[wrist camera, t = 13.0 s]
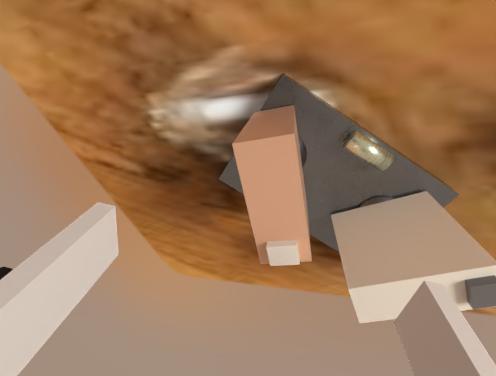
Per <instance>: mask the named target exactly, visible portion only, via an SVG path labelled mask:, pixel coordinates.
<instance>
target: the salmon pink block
mask: <svg viewBox="0 0 496 376" xmlns="http://www.w3.org/2000/svg"><path fill="white" fill-rule="evenodd" d="M232 146H233V150H234V155H235V159H236V163H237V167H238V171H239V175H240V180H241V184H242V188H243V192H244V196H245V201H246V205H247V209H248V213H249V217H250V221H251V226H252V230H253V234H254V238H255V242H256V247H257V251H258V255H259V259H260V263H261V264H270V266H280V265H299V264H300V262H306V261H312V257H311V246H310V235H309V224H308V213H307V201H306V192H305V184H304V176H303V169H302V161H301V154H300V146H299V138H298V131H297V123H296V116H295V108H294V105H290V106H285V107H280V108H275V109H269V110H264V111H259V112H254V114H253V115H252V117H251V118H250V119H249V121H248V122H247V124H246V125H245V126H244V128H243V129H242V130H241V132H240V133H239V135H238V136H237V137H236V139H235V140H234V142H233V143H232Z"/></svg>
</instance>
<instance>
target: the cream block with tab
mask: <svg viewBox="0 0 496 376" xmlns="http://www.w3.org/2000/svg"><path fill="white" fill-rule="evenodd" d="M331 218H332V223H333V227H334V231H335V235H336V240H337V244H338V248H339V252H340V257H341V261H342V265H343V269H344V273H345V278H346V282H347V286H348V290H349V293H350V296H351V299H352V301H353V305H354V308H355V310H356V314H357V317H358V319H359V323H366V322H373V321H382V320H390V319H396V318H397V317H398V316H399V314H400V313H401V311H402V310H403V309H404V307H405V306H406V305H407V303H408V302H409V300H410V299H411V298H412V296H413V295H414V294H415V292H416V291H417V289H418V288H419V287H420V285H421V284H422V283H423V281H424V280H425V281H429V282H433V283H438V284H442V285H443V286H444V287H445V289H446V290H447V292H448V293H449V295H450V296H451V298H452V299H453V301H454V302H455V304H456V305H457V307H458V308H459V310H460V311H463V310H471V309H479V308H487V307H496V260H495V259H494V258H493V257H492V256H491V255H490V254H489V253H488V252H487V251H486V250H485V249H484V248H483V247H482V246H481V245H480V244H479V243H478V242H477V241H476V240H475V239H474V238H473V237H472V236H471V235H470V234H469V233H468V232H467V231H466V230H465V229H464V228H463V227H462V226H461V225H460V224H459V223H458V222H457V221H456V220H455V219H454V218H453V217H452V216H451V215H450V214H449V213H448V212H447V211H446V210H445V209H444V208H443V207H442V206H441V205H440V204H439V203H438V202H437V201H436V200H435V199H434V198H433V197H432V196H431V195H430V194H429V193H428V192H427V191H425V192H421V193H417V194H413V195H409V196H405V197H401V198H397V199H393V200H389V201H385V202H381V203H376V204H372V205H368V206H364V207H360V208H356V209H352V210H348V211H344V212H340V213H336V214H332V215H331Z"/></svg>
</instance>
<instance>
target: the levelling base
mask: <svg viewBox="0 0 496 376" xmlns="http://www.w3.org/2000/svg"><path fill="white" fill-rule="evenodd" d="M290 105H294V108H295V116H296V123H297V131H298V138H299V146H300V154H301V161H302V169H303V176H304V184H305V192H306V201H307V213H308V224H309V234H310V235H311V236H313V237H315V238H316V239H318V240H319V241H321V242H323V243H324V244H326V245H328V246H329V247H331V248H333V249H334V250H336V251H338V252H339V248H338V244H337V240H336V235H335V231H334V227H333V223H332V218H331V215H332V214H336V213H340V212H344V211H348V210H352V209H356V208H360V207H364V206H368V205H372V204H376V203H381V202H385V201H389V200H393V199H397V198H401V197H405V196H409V195H413V194H417V193H421V192H425V191H427V192H428V193H429V194H430V195H431V196H432V197H433V198H434V199H435V200H436V201H437V202H438V203H439V204H440V205H441V206H442V207H443V208H444V207H445V206H446V205H447V204H448V203H450V202H451V201H452V200H453V199H454V198H456V197H457V196H458V195H459V194H458V193H456V192H455V191H454V190H453V189H452V188H450V187H449V186H448V185H447V184H446V183H444V182H443V181H441V180H440V179H438V178H437V177H435V176H434V175H432V174H431V173H429V172H428V171H426V170H425V169H423V168H422V167H421V166H419V165H418V164H416V163H415V162H413V161H412V160H410V159H409V158H407V157H406V156H404V155H403V154H401V153H400V152H398V151H397V150H396V149H394V148H393V147H391V146H390V145H388V144H387V143H385V142H384V141H382V140H381V139H379V138H378V137H376V136H375V135H373V134H372V133H371V132H369V131H368V130H366V129H365V128H363V127H362V126H360V125H359V124H357V123H356V122H354V121H353V120H351V119H350V118H349V117H347V116H346V115H344V114H343V113H341V112H340V111H338V110H337V109H335V108H334V107H332V106H331V105H329V104H328V103H326V102H325V101H324V100H322V99H321V98H319V97H318V96H316V95H315V94H313V93H312V92H310V91H309V90H307V89H306V88H304V87H303V86H301V85H300V84H299V83H297V82H296V81H294V80H293V79H291V78H290V77H288V76H287V75H285V74H284V73H283V75H282V76H281V78H280V79H279V81H278V83H277V84H276V86H275V88H274V89H273V91H272V93H271V94H270V96H269V97H268V99H267V101H266V102H265V104H264V106H263V107H262V109H261V111H264V110H269V109H275V108H280V107H285V106H290ZM219 180H221V181H222V182H224V183H226V184H227V185H229V186H231V187H232V188H234V189H236V190H237V191H239V192H240V193H242V194H244V192H243V188H242V184H241V180H240V175H239V171H238V167H237V163H236V159H235V155H233V156H232V158H231V160H230V161H229V163H228V165H227V166H226V168H225V170H224V171H223V173H222V174H221V176H220V178H219ZM339 253H340V252H339Z"/></svg>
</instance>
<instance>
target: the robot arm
mask: <svg viewBox="0 0 496 376" xmlns="http://www.w3.org/2000/svg"><path fill="white" fill-rule="evenodd" d="M118 254H119V252H118V237H117V223H116V207H115V206H113V205H109V204H104V203H100V202H98V203H96V204H95V205H94V206H93V207H91V208H90V209H89V210H87V211H86V212H85V213H84V214H82V215H81V216H80V217H79V218H77V219H76V220H75V221H74V222H73V223H71V224H70V225H69V226H67V227H66V228H65V229H64V230H62V231H61V232H60V233H59V234H57V235H56V236H55V237H54V238H52V239H51V240H50V241H49V242H47V243H46V244H45V245H43V246H42V247H41V248H40V249H38V250H37V251H36V252H35V253H33V254H32V255H31V256H30V257H28V258H27V259H26V260H25V261H23V262H22V263H21V264H20V265H19V266H17V267H16V268H15V269H11V268H7V267H2V268H0V376H17V375H18V374H19V373H20V372H21V371H22V369H23V368H24V367H25V366H26V365H27V363H28V362H29V361H30V360H31V359H32V357H33V356H34V355H35V354H36V353H37V351H38V350H39V349H40V348H41V347H42V345H43V344H44V343H45V342H46V341H47V340H48V338H49V337H50V336H51V335H52V333H53V332H54V331H55V330H56V329H57V328H58V326H59V325H60V324H61V323H62V321H63V320H64V319H65V318H66V317H67V315H68V314H69V313H70V312H71V311H72V310H73V308H74V307H75V306H76V305H77V304H78V302H79V301H80V300H81V299H82V298H83V296H84V295H85V294H86V293H87V291H88V290H89V289H90V288H91V287H92V285H93V284H94V283H95V282H96V281H97V280H98V278H99V277H100V276H101V275H102V274H103V272H104V271H105V270H106V269H107V268H108V266H109V265H110V264H111V263H112V262H113V260H114V259H115V258H116V257H117V256H118ZM394 324H395V326H396V329H397V332H398V334H399V337H400V339H401V342H402V344H403V347H404V350H405V353H406V355H407V358H408V360H409V363H410V365H411V368H412V371H413V373H414V376H496V365H495V364H494V362H493V360H492V359H491V358H490V356H489V354H488V353H487V351H486V350H485V348H484V347H483V345H482V344H481V342H480V341H479V339H478V337H477V336H476V334H475V333H474V331H473V330H472V328H471V327H470V325H469V324H468V322H467V321H466V319H465V318H464V316H463V315H462V313H461V312H460V310H459V308H458V307H457V305H456V304H455V302H454V301H453V299H452V298H451V296H450V295H449V293H448V292H447V290H446V289H445V287H444V286H443V285H442V284H438V283H433V282H429V281H425V280H424V281H423V283H422V284H421V285H420V287H419V288H418V289H417V291H416V292H415V294H414V295H413V296H412V298H411V299H410V300H409V302H408V303H407V305H406V306H405V307H404V309H403V310H402V311H401V313H400V314H399V316H398V317H397V318H396V320H395V321H394Z"/></svg>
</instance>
